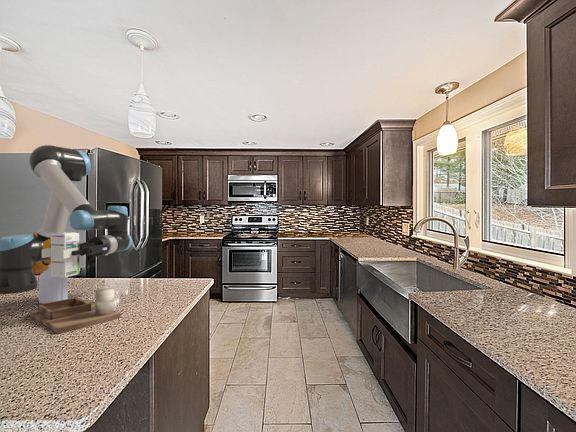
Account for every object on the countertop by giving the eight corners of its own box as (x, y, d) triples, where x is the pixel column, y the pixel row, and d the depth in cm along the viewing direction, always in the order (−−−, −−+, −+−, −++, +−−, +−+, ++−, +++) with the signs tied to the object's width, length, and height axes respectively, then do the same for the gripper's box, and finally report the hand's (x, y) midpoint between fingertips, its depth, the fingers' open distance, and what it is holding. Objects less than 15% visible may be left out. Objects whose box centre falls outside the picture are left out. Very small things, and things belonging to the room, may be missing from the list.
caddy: (29, 315, 108) (29, 287, 107) (87, 303, 122) (87, 278, 122) (58, 334, 93) (58, 301, 93) (120, 317, 108) (121, 289, 107)
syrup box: (65, 278, 104) (65, 233, 104) (49, 276, 105) (50, 232, 105) (79, 274, 110) (80, 232, 109) (65, 273, 111) (65, 231, 110)
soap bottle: (72, 299, 126) (73, 237, 126) (47, 305, 118) (48, 239, 117) (59, 296, 130) (59, 236, 129) (33, 302, 122) (34, 237, 121)
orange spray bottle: (61, 273, 172) (62, 232, 171) (32, 276, 164) (32, 233, 163) (60, 270, 179) (60, 231, 179) (31, 272, 171) (32, 231, 171)
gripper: (124, 256, 124) (80, 267, 101) (78, 254, 126) (25, 264, 103) (124, 237, 124) (80, 243, 101) (79, 235, 126) (25, 241, 103)
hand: (52, 254), depth 102 cm, fingers closed on syrup box, 6 cm apart
